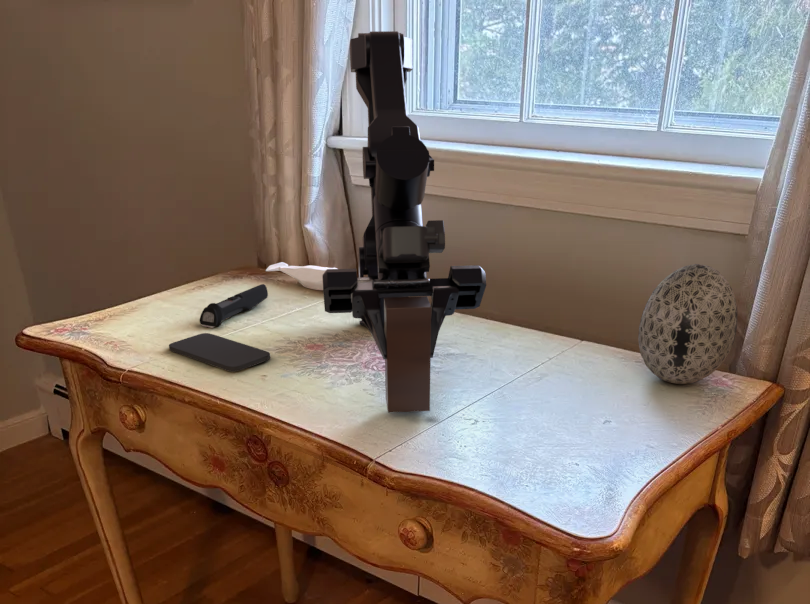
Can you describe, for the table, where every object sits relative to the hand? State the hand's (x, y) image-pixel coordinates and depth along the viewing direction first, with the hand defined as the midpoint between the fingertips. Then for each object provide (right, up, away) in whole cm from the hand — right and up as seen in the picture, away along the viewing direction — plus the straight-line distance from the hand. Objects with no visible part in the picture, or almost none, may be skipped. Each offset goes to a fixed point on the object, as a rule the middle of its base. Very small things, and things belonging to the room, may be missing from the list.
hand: (408, 357), depth 91 cm
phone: (-27, +5, +22) cm, 35 cm away
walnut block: (0, -5, +5) cm, 7 cm away
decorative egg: (+36, 0, +14) cm, 38 cm away
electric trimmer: (-28, +16, +38) cm, 50 cm away
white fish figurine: (-17, +24, +51) cm, 59 cm away
